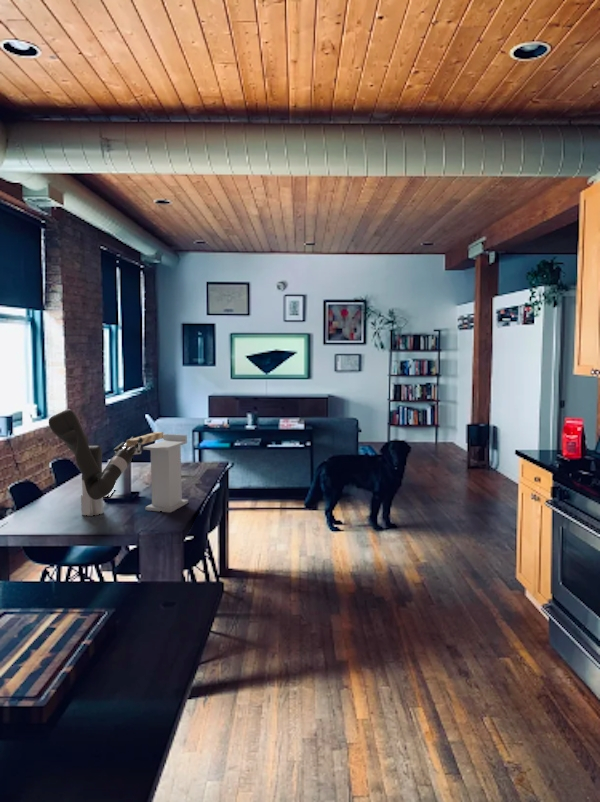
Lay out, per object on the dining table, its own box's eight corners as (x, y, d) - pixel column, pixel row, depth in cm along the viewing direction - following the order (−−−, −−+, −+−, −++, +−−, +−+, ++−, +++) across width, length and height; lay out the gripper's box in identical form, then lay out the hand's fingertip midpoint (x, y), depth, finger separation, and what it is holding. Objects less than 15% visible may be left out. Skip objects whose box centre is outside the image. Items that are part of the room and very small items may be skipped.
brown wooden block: (133, 447, 272) (133, 440, 272) (126, 446, 274) (126, 440, 273) (163, 438, 297) (163, 432, 297) (156, 437, 298) (156, 431, 298)
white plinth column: (168, 513, 294) (166, 442, 290) (143, 511, 298) (141, 440, 294) (190, 501, 315) (188, 435, 311) (166, 499, 319) (164, 433, 315)
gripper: (130, 457, 261) (148, 432, 274) (102, 455, 265) (121, 431, 278) (135, 470, 265) (153, 445, 278) (108, 468, 269) (126, 443, 283)
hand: (137, 438), depth 278 cm, fingers closed on brown wooden block, 3 cm apart
